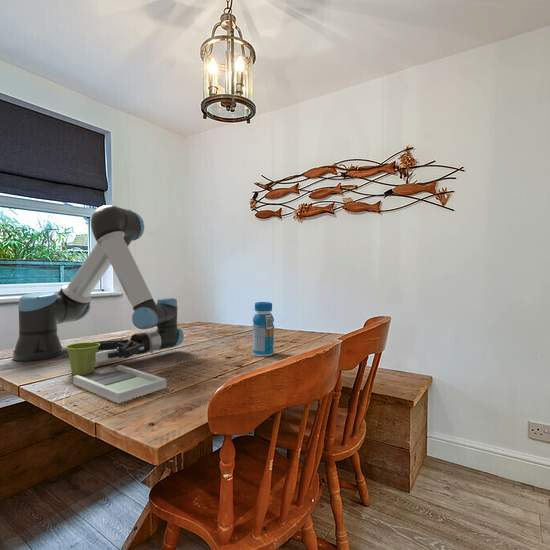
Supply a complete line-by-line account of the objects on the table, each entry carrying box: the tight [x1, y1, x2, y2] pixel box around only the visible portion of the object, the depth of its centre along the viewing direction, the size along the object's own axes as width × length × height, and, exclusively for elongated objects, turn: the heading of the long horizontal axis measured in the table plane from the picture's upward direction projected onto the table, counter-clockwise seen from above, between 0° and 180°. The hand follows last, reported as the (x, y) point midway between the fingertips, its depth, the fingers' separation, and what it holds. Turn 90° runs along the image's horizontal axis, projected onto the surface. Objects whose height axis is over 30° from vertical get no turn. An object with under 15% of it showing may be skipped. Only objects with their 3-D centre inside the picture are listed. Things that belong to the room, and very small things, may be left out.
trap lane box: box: [72, 364, 167, 404], centre depth 95 cm, size 23×14×2 cm, turn 54°
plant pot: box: [65, 341, 100, 376], centre depth 107 cm, size 9×9×9 cm
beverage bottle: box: [252, 301, 275, 357], centre depth 132 cm, size 8×8×20 cm
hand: (84, 354), depth 107 cm, fingers open, 13 cm apart
